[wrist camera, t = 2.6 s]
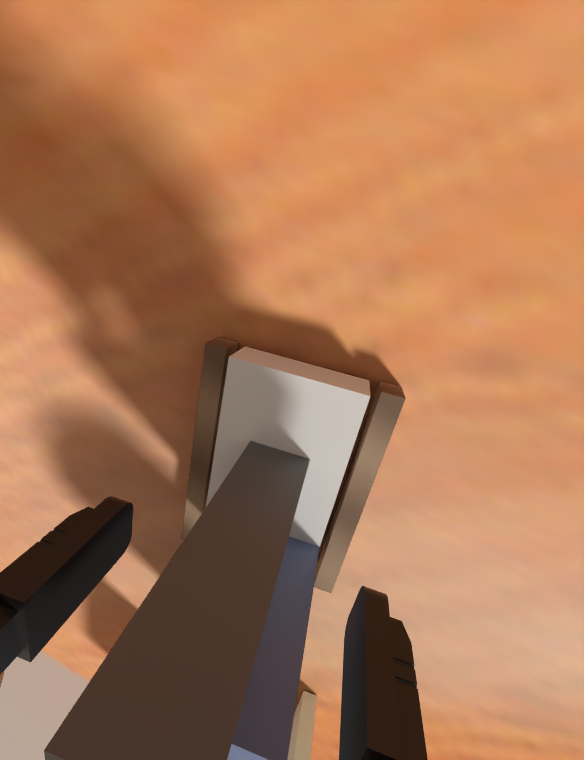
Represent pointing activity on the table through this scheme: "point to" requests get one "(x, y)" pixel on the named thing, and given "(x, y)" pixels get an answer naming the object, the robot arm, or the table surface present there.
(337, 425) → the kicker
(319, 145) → the table surface
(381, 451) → the track
